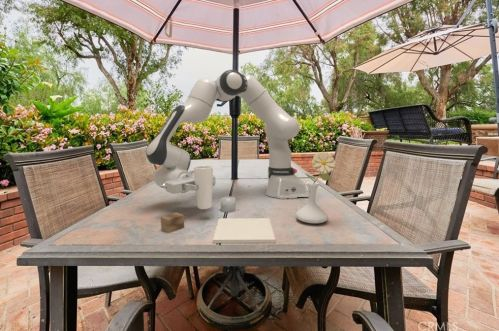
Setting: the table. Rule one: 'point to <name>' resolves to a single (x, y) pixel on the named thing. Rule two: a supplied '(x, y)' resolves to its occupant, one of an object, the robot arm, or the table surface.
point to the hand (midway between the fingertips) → (205, 185)
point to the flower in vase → (312, 210)
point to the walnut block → (172, 222)
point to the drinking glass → (203, 186)
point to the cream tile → (244, 230)
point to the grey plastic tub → (228, 204)
